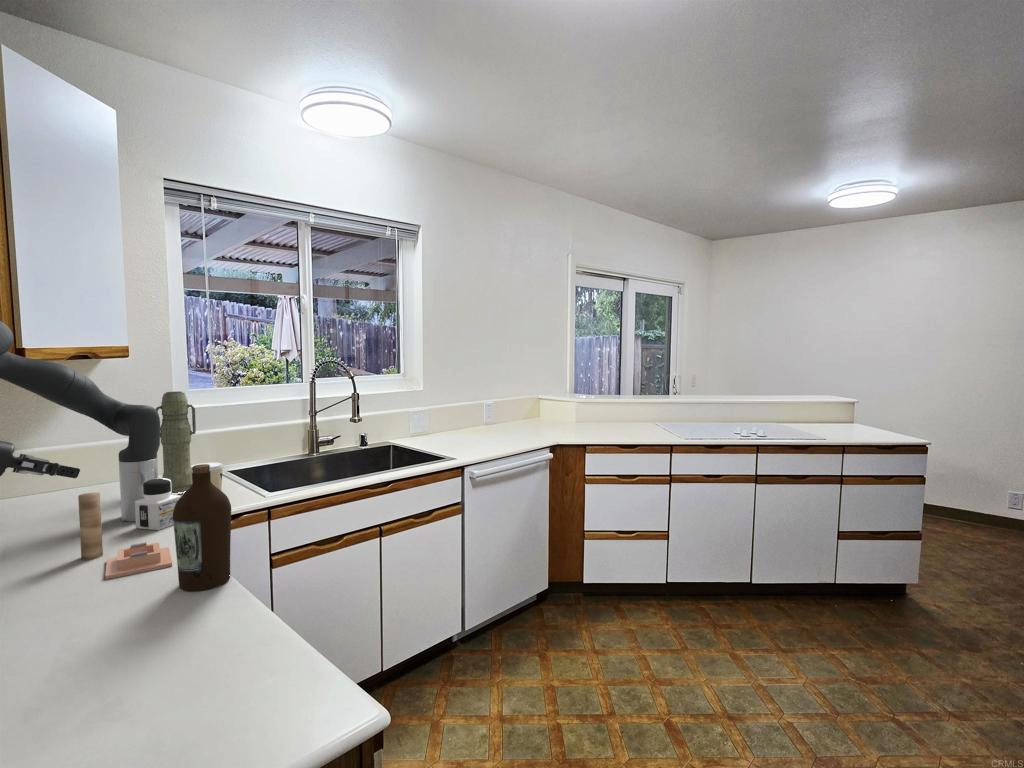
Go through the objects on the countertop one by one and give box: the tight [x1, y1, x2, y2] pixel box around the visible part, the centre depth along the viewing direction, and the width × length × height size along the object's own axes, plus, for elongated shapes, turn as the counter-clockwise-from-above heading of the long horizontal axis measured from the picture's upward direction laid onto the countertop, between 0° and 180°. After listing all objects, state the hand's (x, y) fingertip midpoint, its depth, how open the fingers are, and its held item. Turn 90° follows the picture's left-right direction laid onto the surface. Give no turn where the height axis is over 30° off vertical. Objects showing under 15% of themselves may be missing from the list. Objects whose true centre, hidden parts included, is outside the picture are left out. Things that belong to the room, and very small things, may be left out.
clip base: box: [105, 541, 173, 580], centre depth 121 cm, size 12×12×4 cm
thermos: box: [155, 391, 197, 493], centre depth 182 cm, size 9×12×35 cm
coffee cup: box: [190, 461, 224, 492], centre depth 171 cm, size 9×9×12 cm
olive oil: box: [172, 464, 232, 592], centre depth 111 cm, size 11×11×25 cm
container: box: [135, 477, 181, 531], centre depth 148 cm, size 8×8×13 cm
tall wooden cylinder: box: [77, 491, 104, 561], centre depth 125 cm, size 4×4×15 cm
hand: (71, 472), depth 118 cm, fingers open, 8 cm apart
